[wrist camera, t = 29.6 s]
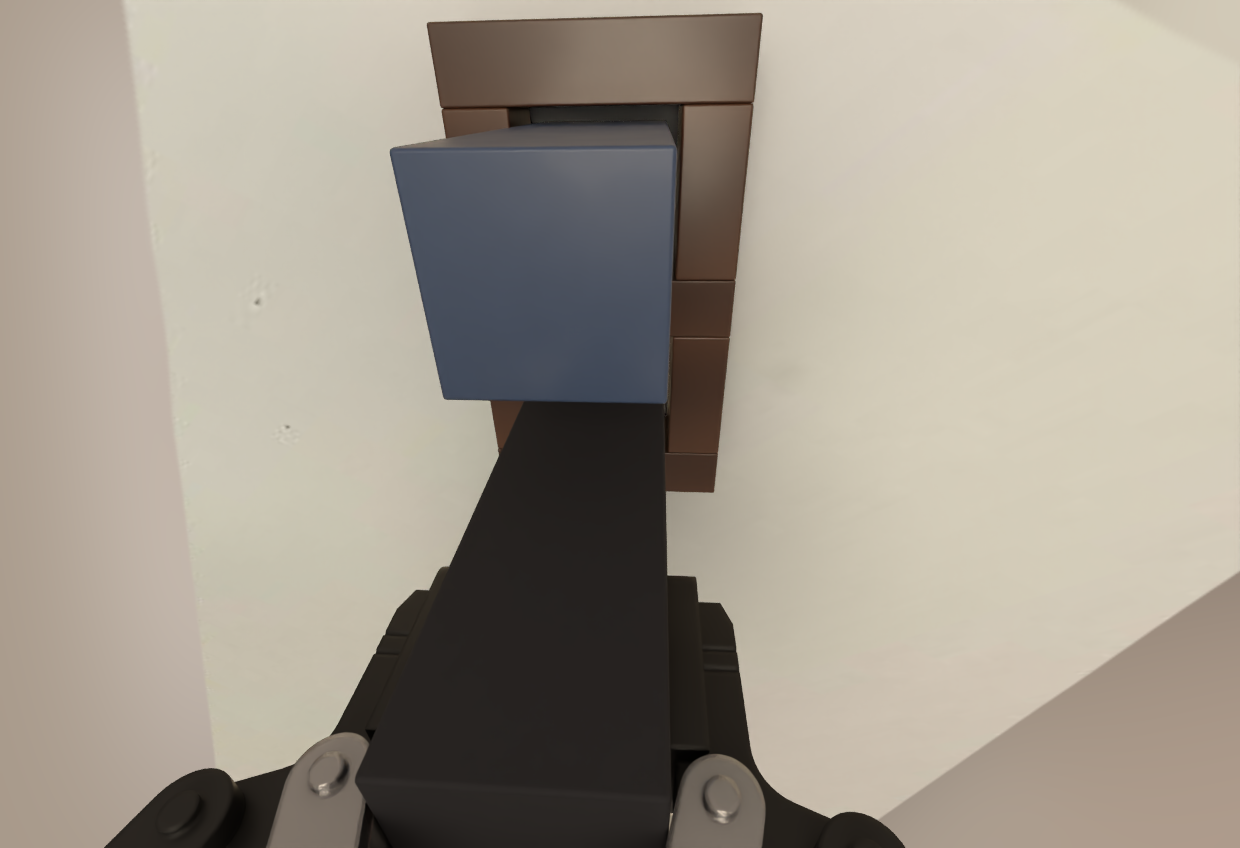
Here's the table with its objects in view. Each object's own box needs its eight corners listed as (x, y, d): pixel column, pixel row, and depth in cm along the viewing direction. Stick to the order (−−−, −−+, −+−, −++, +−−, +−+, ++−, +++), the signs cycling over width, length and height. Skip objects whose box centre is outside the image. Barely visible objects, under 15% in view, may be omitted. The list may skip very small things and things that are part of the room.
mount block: (708, 452, 24) (714, 493, 22) (519, 448, 25) (504, 487, 22) (746, 26, 16) (763, 12, 13) (461, 33, 17) (425, 21, 14)
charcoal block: (546, 476, 19) (419, 899, 9) (535, 373, 17) (349, 781, 7) (660, 479, 19) (662, 917, 9) (663, 375, 17) (671, 802, 7)
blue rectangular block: (553, 248, 20) (442, 401, 10) (543, 121, 18) (386, 148, 8) (662, 248, 20) (667, 405, 9) (666, 119, 17) (677, 144, 7)
